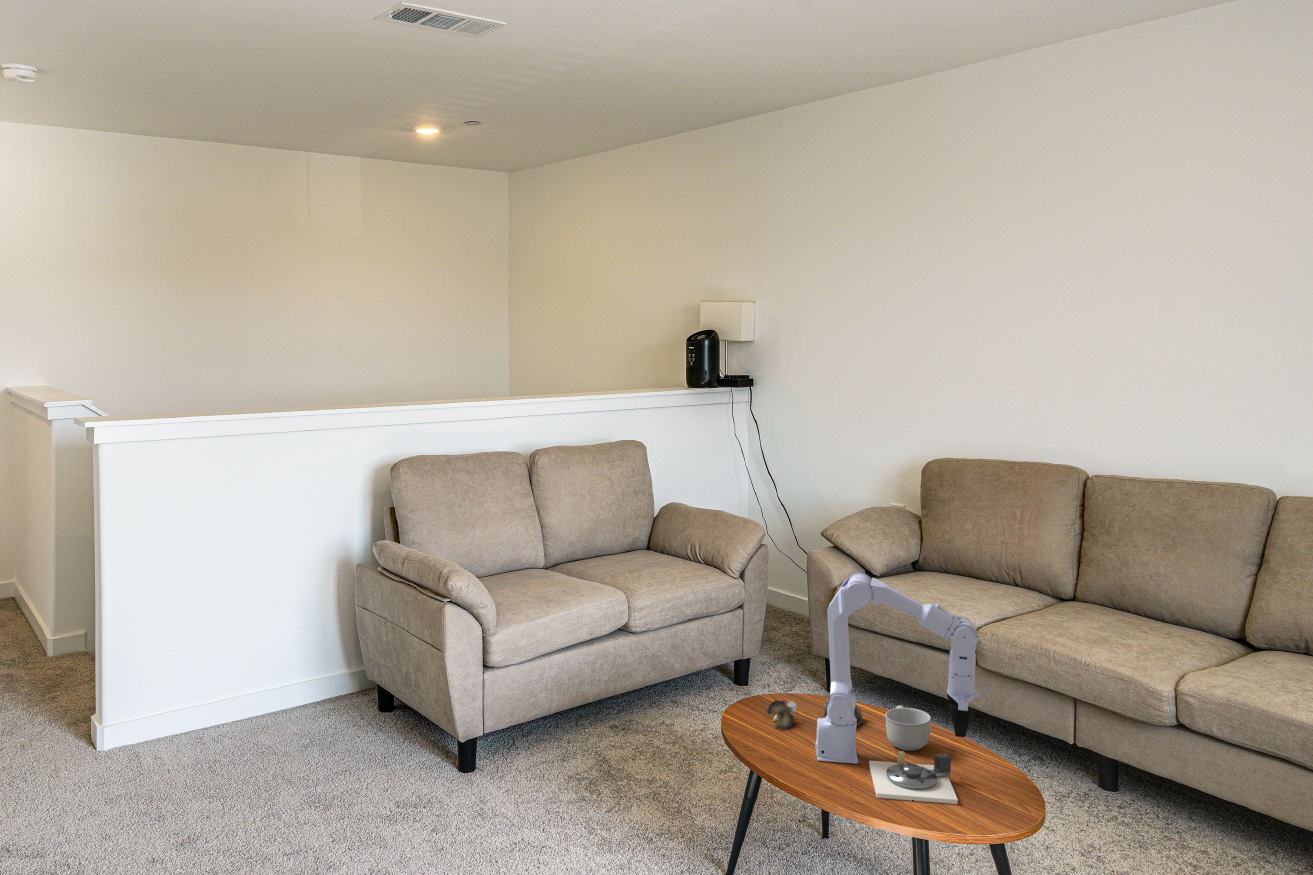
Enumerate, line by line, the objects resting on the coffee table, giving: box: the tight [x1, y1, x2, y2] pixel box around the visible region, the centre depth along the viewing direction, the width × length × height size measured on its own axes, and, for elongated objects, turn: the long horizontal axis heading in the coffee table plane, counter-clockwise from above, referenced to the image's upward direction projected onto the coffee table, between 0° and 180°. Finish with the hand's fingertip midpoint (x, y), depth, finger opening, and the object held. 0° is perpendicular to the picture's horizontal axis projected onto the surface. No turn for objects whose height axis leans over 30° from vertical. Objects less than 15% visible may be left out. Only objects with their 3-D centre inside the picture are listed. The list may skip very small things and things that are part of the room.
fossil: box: [823, 696, 863, 728], centre depth 242 cm, size 11×9×10 cm
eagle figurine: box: [766, 698, 798, 730], centre depth 240 cm, size 8×7×9 cm
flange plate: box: [886, 752, 952, 789], centre depth 207 cm, size 15×11×4 cm
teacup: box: [884, 705, 932, 752], centre depth 229 cm, size 14×11×8 cm
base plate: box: [868, 750, 959, 805], centre depth 206 cm, size 17×17×4 cm
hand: (958, 729), depth 212 cm, fingers open, 7 cm apart
